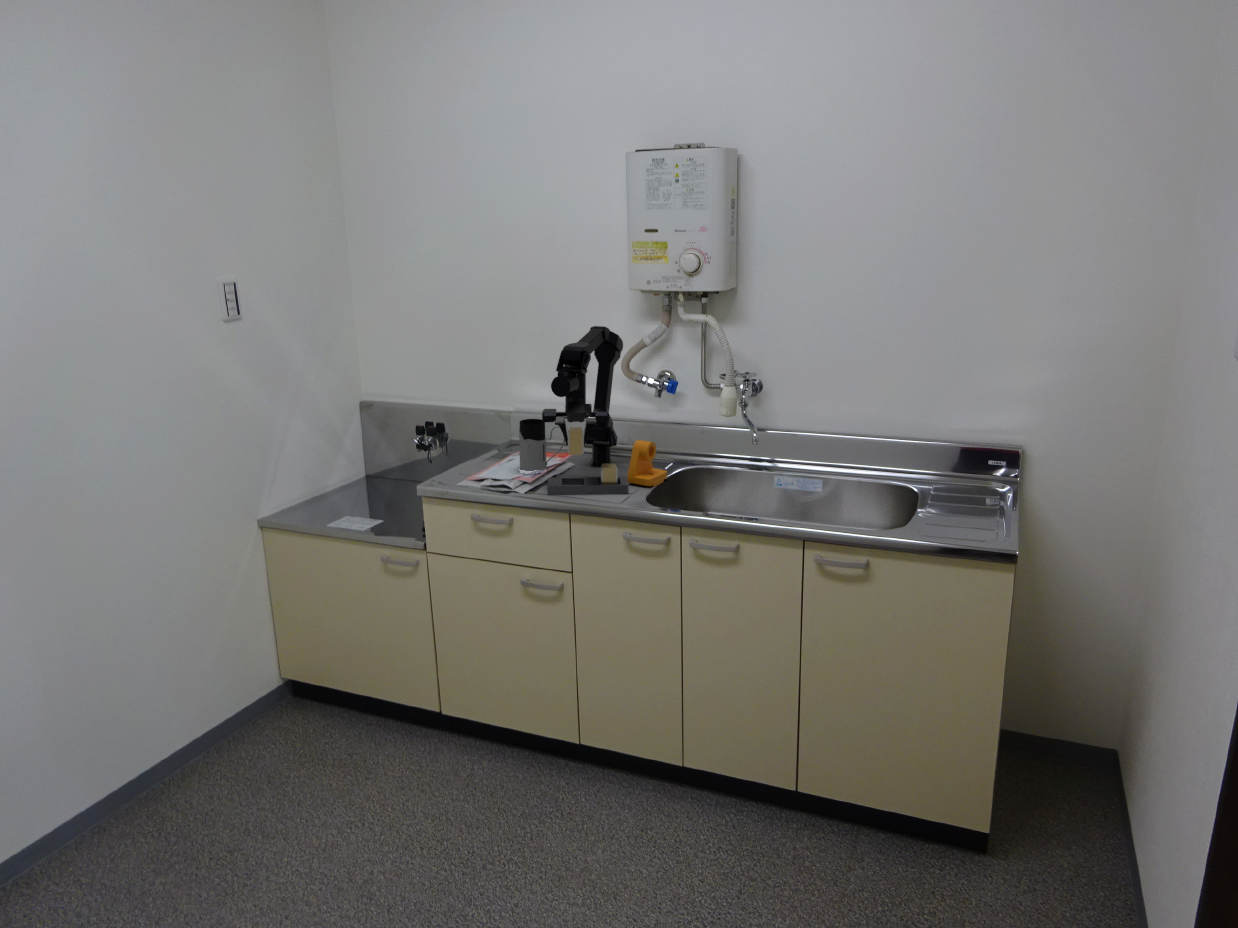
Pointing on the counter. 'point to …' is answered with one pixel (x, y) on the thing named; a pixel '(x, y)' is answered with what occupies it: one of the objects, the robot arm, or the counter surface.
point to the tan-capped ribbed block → (609, 474)
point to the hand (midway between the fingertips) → (575, 445)
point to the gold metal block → (575, 441)
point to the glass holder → (533, 445)
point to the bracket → (644, 465)
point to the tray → (585, 486)
